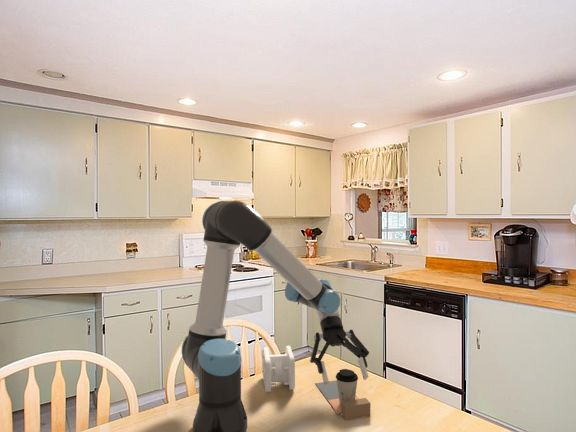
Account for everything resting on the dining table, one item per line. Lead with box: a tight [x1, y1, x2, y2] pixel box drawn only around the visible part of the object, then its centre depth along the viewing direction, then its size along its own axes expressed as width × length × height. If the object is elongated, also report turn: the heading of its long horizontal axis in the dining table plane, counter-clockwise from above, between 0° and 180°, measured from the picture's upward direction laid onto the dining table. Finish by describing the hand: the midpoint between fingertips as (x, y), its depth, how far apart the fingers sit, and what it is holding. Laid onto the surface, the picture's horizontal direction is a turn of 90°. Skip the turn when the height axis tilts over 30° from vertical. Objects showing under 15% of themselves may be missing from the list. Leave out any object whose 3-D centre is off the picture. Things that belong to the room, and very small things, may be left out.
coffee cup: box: [335, 368, 359, 405], centre depth 118 cm, size 7×7×10 cm
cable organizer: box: [261, 345, 296, 393], centre depth 131 cm, size 15×11×12 cm
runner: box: [315, 379, 371, 421], centre depth 122 cm, size 24×10×4 cm, turn 15°
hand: (346, 380), depth 119 cm, fingers open, 13 cm apart
